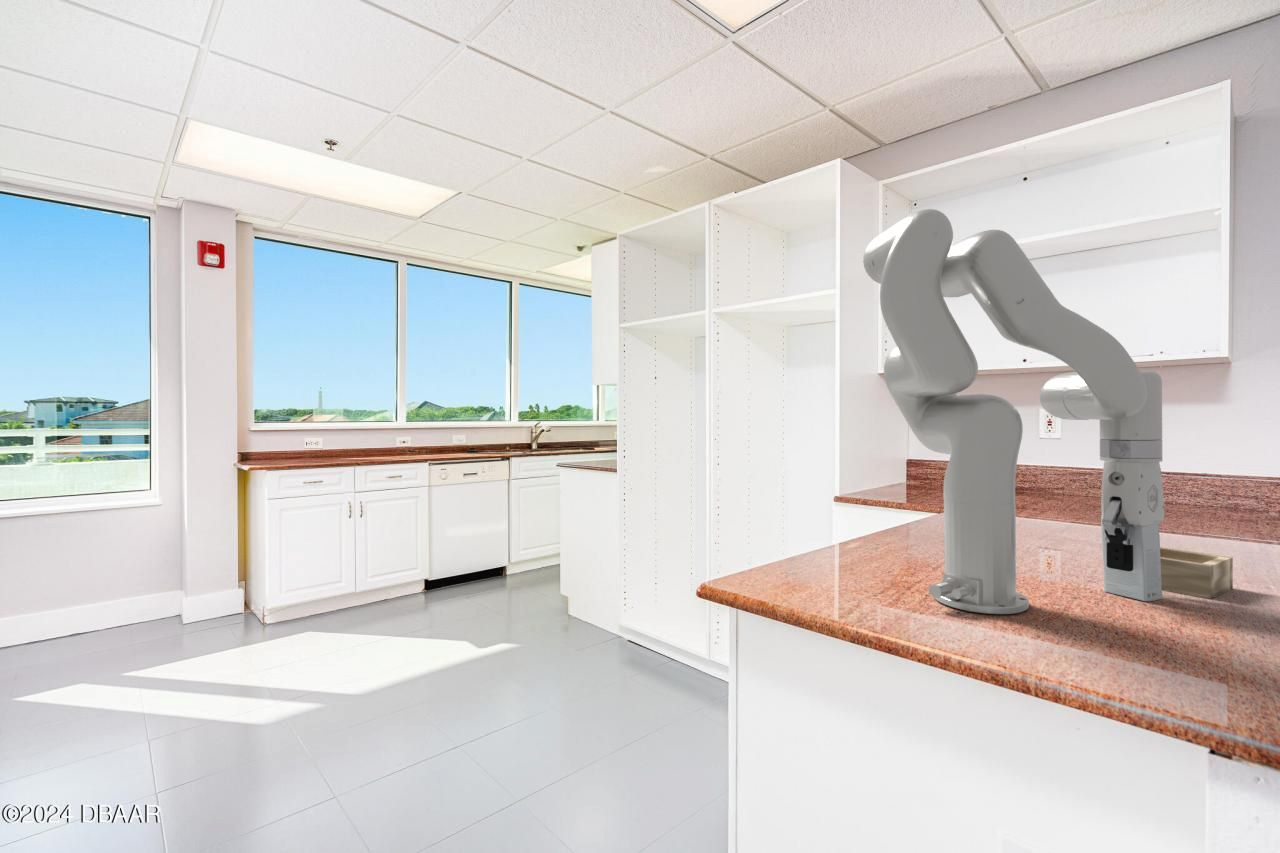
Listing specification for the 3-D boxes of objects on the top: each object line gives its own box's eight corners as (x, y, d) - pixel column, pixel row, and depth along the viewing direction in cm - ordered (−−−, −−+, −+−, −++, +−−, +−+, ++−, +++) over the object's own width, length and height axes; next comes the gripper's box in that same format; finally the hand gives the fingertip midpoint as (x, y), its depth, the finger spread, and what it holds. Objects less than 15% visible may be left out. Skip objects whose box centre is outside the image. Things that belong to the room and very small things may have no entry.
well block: (1210, 599, 91) (1210, 566, 91) (1126, 582, 100) (1126, 553, 100) (1232, 588, 95) (1232, 557, 95) (1150, 574, 105) (1150, 545, 104)
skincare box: (1163, 599, 91) (1163, 519, 91) (1144, 603, 90) (1143, 522, 89) (1119, 588, 97) (1118, 513, 97) (1100, 591, 95) (1099, 515, 95)
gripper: (1135, 455, 85) (1135, 580, 85) (1183, 449, 94) (1184, 562, 94) (1075, 453, 92) (1076, 569, 92) (1126, 447, 100) (1126, 553, 101)
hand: (1130, 564), depth 93 cm, fingers open, 6 cm apart
